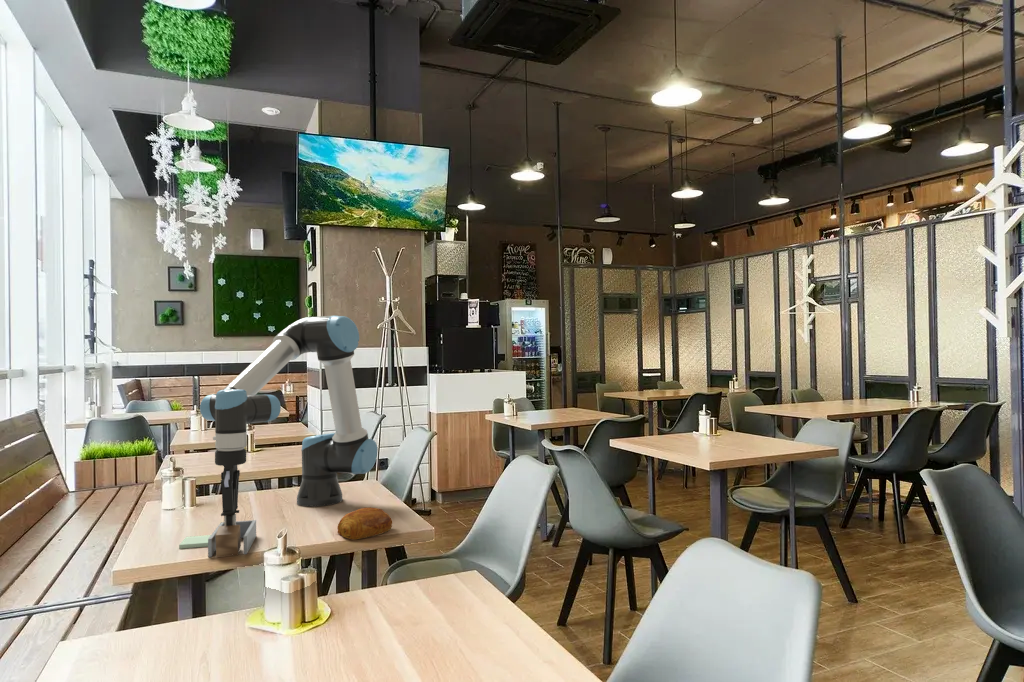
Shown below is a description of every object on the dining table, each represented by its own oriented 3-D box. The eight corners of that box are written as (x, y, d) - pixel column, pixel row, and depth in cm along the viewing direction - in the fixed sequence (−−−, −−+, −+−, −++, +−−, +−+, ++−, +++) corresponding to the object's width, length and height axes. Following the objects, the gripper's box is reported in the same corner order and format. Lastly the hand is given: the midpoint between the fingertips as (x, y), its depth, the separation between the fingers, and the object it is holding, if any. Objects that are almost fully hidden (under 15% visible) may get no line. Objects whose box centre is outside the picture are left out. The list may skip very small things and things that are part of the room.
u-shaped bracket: (256, 536, 181) (256, 520, 181) (246, 553, 165) (246, 536, 165) (221, 538, 179) (221, 522, 179) (208, 557, 163) (208, 539, 163)
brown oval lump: (400, 539, 184) (403, 511, 185) (352, 543, 173) (356, 513, 174) (371, 529, 194) (374, 502, 195) (324, 532, 183) (328, 503, 184)
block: (240, 546, 169) (240, 524, 168) (237, 555, 164) (236, 533, 163) (220, 547, 168) (219, 526, 167) (216, 557, 163) (215, 535, 162)
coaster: (218, 538, 180) (218, 534, 180) (212, 546, 172) (212, 542, 172) (186, 540, 178) (186, 536, 178) (179, 548, 170) (179, 544, 170)
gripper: (220, 446, 175) (219, 534, 174) (210, 452, 162) (209, 547, 161) (249, 445, 176) (249, 532, 176) (242, 451, 164) (241, 545, 163)
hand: (230, 539), depth 169 cm, fingers closed
